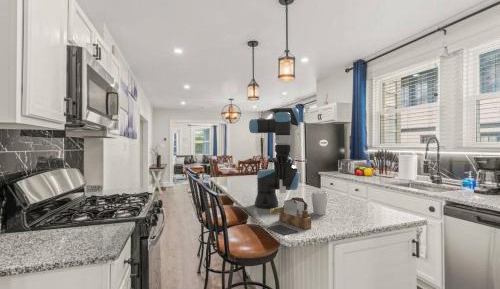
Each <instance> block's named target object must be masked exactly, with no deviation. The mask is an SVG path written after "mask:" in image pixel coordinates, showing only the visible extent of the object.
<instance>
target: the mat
mask: <svg viewBox="0 0 500 289" xmlns="http://www.w3.org/2000/svg"><path fill="white" fill-rule="evenodd" d="M266 228H267V230H271V231H273V232H274V233H275V232H276V233H278V234H280V235H283V236H288V235H291V234H295V233H298V230H296V229H293V228H290V227H288V226H286V225H284V224H280V223H279V224H276V225H271V226H268V227H266Z"/></svg>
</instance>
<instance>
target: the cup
mask: <svg viewBox="0 0 500 289" xmlns="http://www.w3.org/2000/svg"><path fill="white" fill-rule="evenodd" d="M328 195H329V194H328V192H327V191H324V190H323V191H322V190H313V191H311V203H312V204H311V205H312V211H313V214H315V215H320V216H322V215H324V216H325V215H326V214H327V207H328V198H329V196H328Z"/></svg>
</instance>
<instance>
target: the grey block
mask: <svg viewBox="0 0 500 289" xmlns="http://www.w3.org/2000/svg"><path fill="white" fill-rule="evenodd" d="M283 205H284V213H287V214H290V215H293V216H296V217H297V216H302V211H303V210H304V203H303V202H299V201H295V200H291V199H287V200H283Z"/></svg>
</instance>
